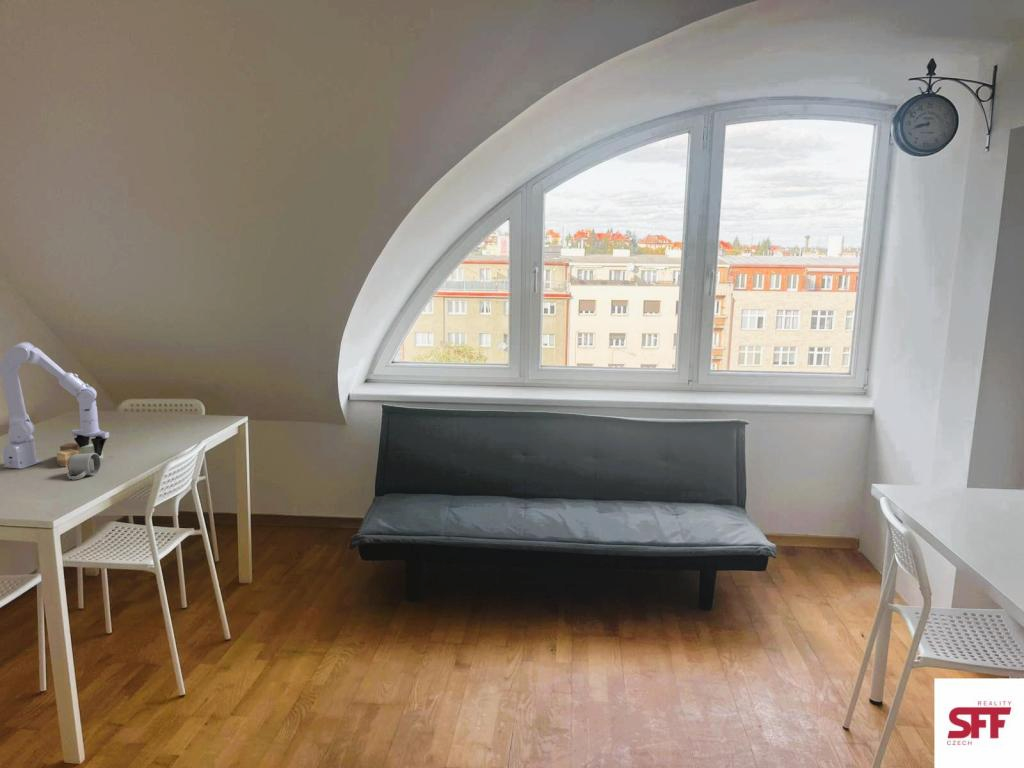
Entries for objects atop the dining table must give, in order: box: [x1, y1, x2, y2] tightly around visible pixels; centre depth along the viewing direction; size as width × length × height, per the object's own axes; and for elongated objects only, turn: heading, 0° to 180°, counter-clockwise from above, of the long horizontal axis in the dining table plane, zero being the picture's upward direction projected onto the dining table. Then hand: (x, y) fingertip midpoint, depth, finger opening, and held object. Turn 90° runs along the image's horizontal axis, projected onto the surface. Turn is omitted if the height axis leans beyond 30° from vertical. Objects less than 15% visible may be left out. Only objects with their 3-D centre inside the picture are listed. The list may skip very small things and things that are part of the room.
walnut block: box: [59, 442, 81, 454], centre depth 279 cm, size 5×5×5 cm
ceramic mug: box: [66, 453, 102, 481], centre depth 257 cm, size 11×8×8 cm
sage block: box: [80, 443, 104, 459], centre depth 277 cm, size 5×5×5 cm
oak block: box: [56, 449, 79, 468], centre depth 270 cm, size 5×5×5 cm
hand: (92, 455), depth 278 cm, fingers closed on sage block, 5 cm apart
